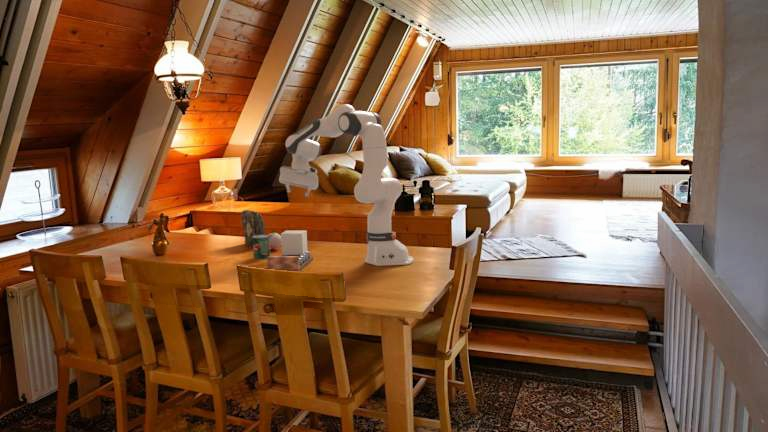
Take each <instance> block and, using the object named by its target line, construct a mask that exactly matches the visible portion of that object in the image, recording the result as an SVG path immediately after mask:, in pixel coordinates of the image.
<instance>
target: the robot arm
mask: <svg viewBox="0 0 768 432" xmlns="http://www.w3.org/2000/svg"><path fill="white" fill-rule="evenodd" d="M381 124H382V119H381V117H380V115H379V114H378V113H376V112H374V111H365V110H356V109H355V107H353V105H351V104H349V103H343V104H342V105H339V106H338V107H336V108H335V109H333V111H332V112H331V113H329V114H328V115H327V116H324V117H322V118H319V119H315V120H313V121H311V122H309V123H308V124H307V125H305V126H303V127H302V128H301V129H299V130H298V131H297V132H294V133H291V134H290V135H289V136H288V137H287V138H286V140H285V142H284V146H285V149H286V151H287V152H288V154H291V157H292V161H291V166H286V165H283V166H281V167H280V168H279V172H280V174H279V178H278V181H279V183H280V184H283V185H285V188H286V193H291V192H292V188H291V187H290V186H293V187H299V188H302V189H307V191H305V192H304V196H305V197H309V196H310V192H311V191H312V190H313V191H315V190H317V189H318V187H319V176H318V170H317V169H316V168H314V167H313V166H311V165H310V164H309V162H312V161H315V160H316V159H318V158H320V156H321V153H322V147H321V144H320V143H319V142H317V141H315V140H312V139H310V138H311V137H316V136H319V137H321V136H322V137H328V138H338V137H340V136H341V135H343V134H346V135H349V136H352V137H356V136H359V137H360V138H361V142H362V154H363V156H362V157H363V168H362V169H363V170H362V174H361V176H360V178H359V180H358V181H357V183H356V184H355V186H354V188H353V193H354V197H355V200H356V201H358V202H359V203H362V204H373V208H372V209H371V211H369V213H368V214H367V216H366V217H367V218H366V219H367V222H366V223H367V232H366V244H367V251H366V256H365V257H366V258H365V260H364V262H365V264H368V265H369V264H370V265H373V266H376V267H379V266H380V267H382V266H402V265H403V266H404V265H405V266H407V265H411V264H412V263H413V262H414V257H413V256H411V255H410V254H409V250H408V248H407V246H406V245H405V244H403V243H402V242H401V241H399V240H398V239H396V238H397V234H396V231H393V230H392V215H393V209H394V206H395V204H396V201H397V200H398V198H399V197H400V196H401V195H402V192H403V186H402V184H401V181H400V180H399V179H397V178H394V177H388V176H386V177H382V175H383V172H384V169H386V168H387V167H388V164H389V157H388V145H387V140H386V139H387V137H386V134H385V131H384V127H383V126H382V125H381Z"/></svg>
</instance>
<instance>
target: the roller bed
mask: <svg viewBox="0 0 768 432" xmlns="http://www.w3.org/2000/svg"><path fill="white" fill-rule="evenodd" d="M266 260H267V270H268V269H275V270H287V271H300V270H301V271H302V269H303V268H304V267H305V268H306V267H307V266H308V265H309V264H311V263H312V262H313V261H314V256H310V258H308V260H305V262H303V264H302V265H300V261H299V256H282V255H270V256H268V257H267V259H266ZM305 268H304V269H305ZM304 269H303V270H304ZM301 271H300V272H301Z"/></svg>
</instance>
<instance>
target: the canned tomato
mask: <svg viewBox="0 0 768 432" xmlns="http://www.w3.org/2000/svg"><path fill="white" fill-rule="evenodd" d="M270 249H271V248H270V247H269V234H264V235H255V236H253V248H252V250H253V259H254V260H257V261H258V260H260V261H261V260H267V257H268V256H271V250H270Z"/></svg>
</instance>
